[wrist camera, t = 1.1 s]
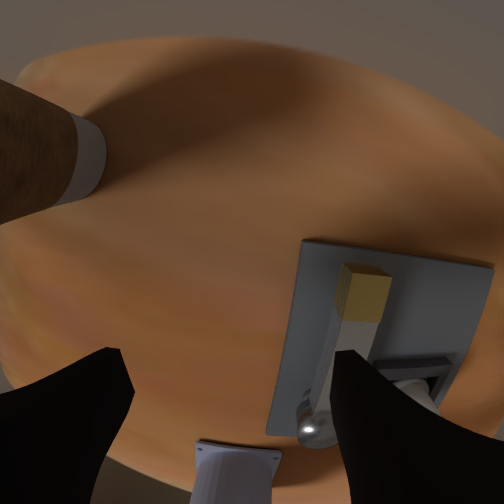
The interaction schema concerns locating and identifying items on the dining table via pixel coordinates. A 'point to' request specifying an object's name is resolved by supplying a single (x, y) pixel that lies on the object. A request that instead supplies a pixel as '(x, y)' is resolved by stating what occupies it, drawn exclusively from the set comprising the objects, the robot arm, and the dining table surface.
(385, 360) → the panel
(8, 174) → the coffee cup
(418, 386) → the plug
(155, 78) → the dining table surface
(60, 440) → the robot arm
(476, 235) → the dining table surface
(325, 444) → the clip
